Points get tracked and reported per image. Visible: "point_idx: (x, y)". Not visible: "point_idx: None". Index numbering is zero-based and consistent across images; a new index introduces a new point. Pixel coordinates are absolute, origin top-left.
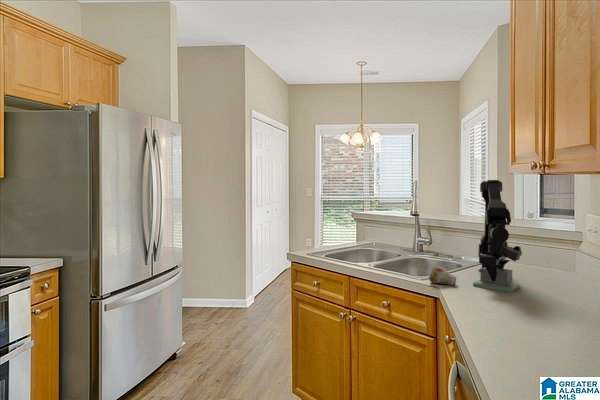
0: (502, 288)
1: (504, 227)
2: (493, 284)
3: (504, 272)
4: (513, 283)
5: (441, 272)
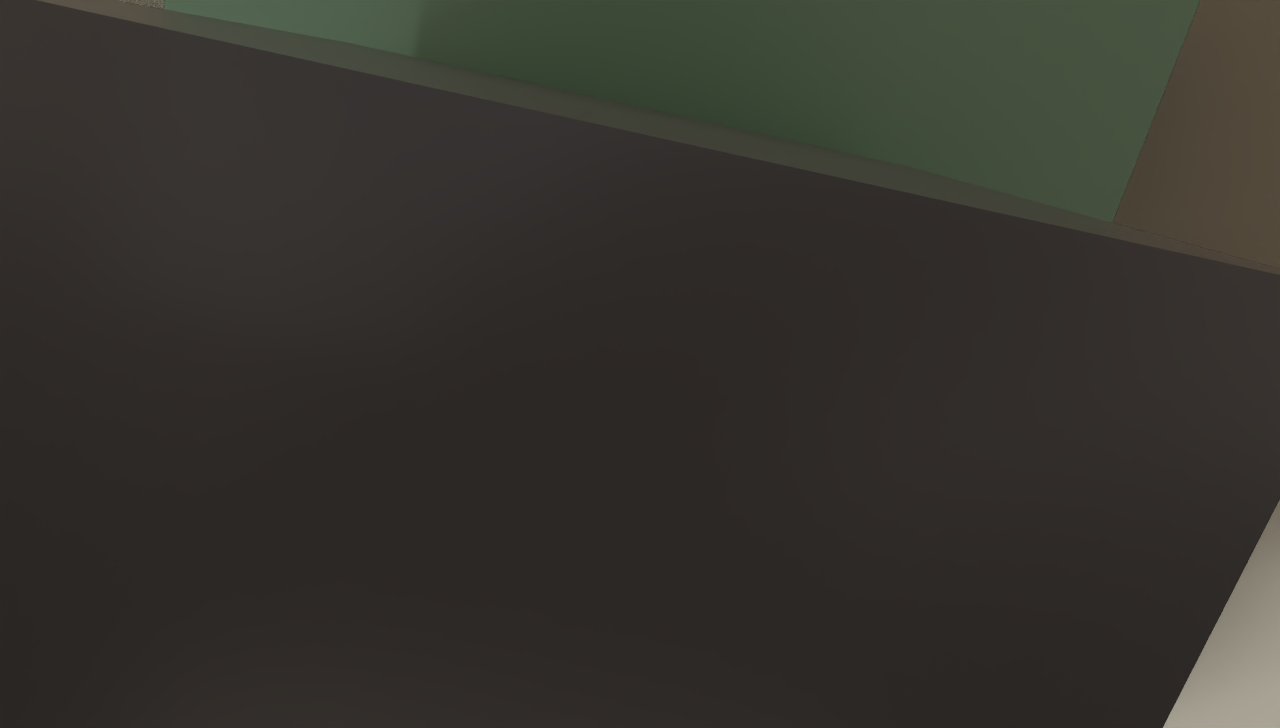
0: None
1: None
2: None
3: (1195, 568)
4: None
5: None
